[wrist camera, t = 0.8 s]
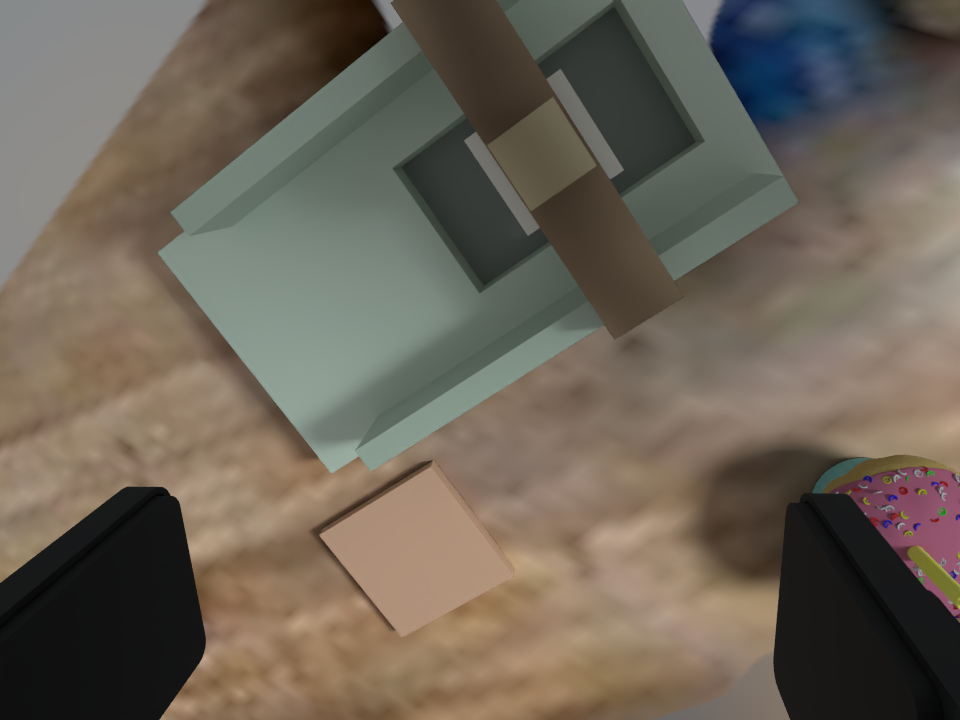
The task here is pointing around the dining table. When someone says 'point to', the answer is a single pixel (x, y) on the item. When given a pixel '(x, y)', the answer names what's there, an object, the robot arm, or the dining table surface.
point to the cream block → (584, 127)
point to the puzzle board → (454, 224)
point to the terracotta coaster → (417, 550)
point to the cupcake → (909, 514)
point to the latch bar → (543, 156)
